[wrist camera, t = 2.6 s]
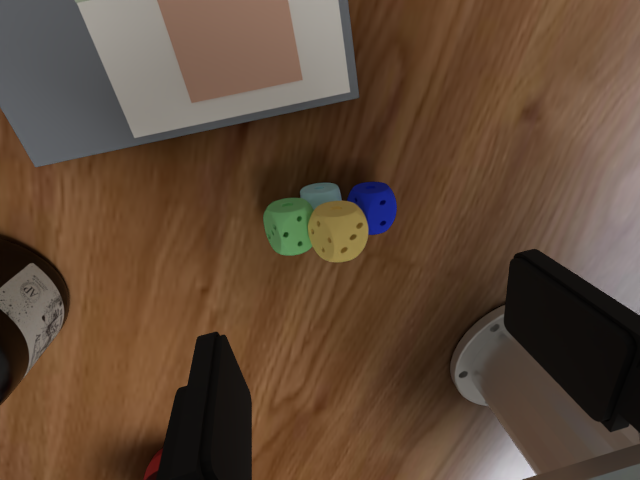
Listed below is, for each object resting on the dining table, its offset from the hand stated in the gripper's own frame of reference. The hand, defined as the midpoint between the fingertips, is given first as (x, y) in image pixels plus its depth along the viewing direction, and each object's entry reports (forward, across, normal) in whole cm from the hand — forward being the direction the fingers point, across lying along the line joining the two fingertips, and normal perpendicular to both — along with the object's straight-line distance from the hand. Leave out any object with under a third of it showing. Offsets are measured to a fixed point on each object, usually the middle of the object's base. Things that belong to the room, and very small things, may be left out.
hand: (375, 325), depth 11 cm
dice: (+13, -1, +1) cm, 13 cm away
